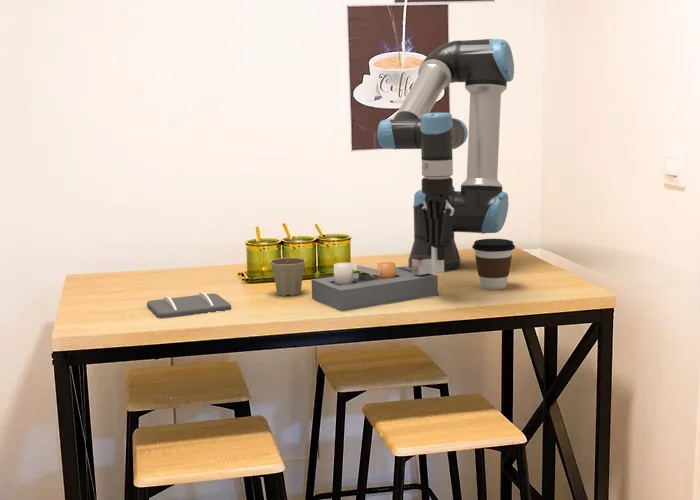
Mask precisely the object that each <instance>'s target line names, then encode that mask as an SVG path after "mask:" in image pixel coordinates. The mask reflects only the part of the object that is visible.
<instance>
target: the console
mask: <svg viewBox="0 0 700 500" xmlns="http://www.w3.org/2000/svg"><path fill="white" fill-rule="evenodd" d="M395 273H396V277H395V278H388V279H381V278H378V277H377V275H374V274H370V273H365V272H361V271H360V272H355V273H353V284H348V285H341V286H338V285H336V284H334V275H333V276H327V277H326V276H325V277H319V278H313V279H311V299H312V300H313V299H314V300H313V301H316V302H318V301H319V302H318V303H321V304H323V303H324V304H323V305H326V306H328V305H329V306H328V307H330V306H331V308H334V309H335V308H336V310H338V311H340V312H343V311H349V310H355V309H362V308H367V307H374V306H379V305H385V304H392V303H398V302H404V301H410V300H417V299H422V298H428V297H436V296H438V294H439V293H438V292H439V291H438V290H439V288H438V286H439V281H438V277H439V276H438V275H436V274H434V273H430V274H423V275H417V274H413V273H412V268H409V266H398V267H397V266H395ZM361 307H362V308H361Z"/></svg>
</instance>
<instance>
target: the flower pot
mask: <svg viewBox="0 0 700 500" xmlns="http://www.w3.org/2000/svg"><path fill="white" fill-rule="evenodd" d="M306 263H307V260H306V259H304V258H301V257H281V258H274V259H271V260H269V264H270V265H271V269H272V270H273V277H274V283H275V289H276V294H277V295H278V296H283V297H286V296H297V295H300V294H301V293H302V284H303V275H304V274H303V273H304V269H305V265H306Z"/></svg>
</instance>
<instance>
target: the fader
mask: <svg viewBox="0 0 700 500" xmlns="http://www.w3.org/2000/svg"><path fill="white" fill-rule="evenodd" d="M411 258H412V273H413V274H417V275H423V274H433V273H432V258H431V255H430V254H420V255H413V256H411Z"/></svg>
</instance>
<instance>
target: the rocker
mask: <svg viewBox="0 0 700 500" xmlns="http://www.w3.org/2000/svg"><path fill="white" fill-rule="evenodd" d="M348 263H352V269H353V271H356V272H360V273H361V272H365V273H370V274H374V275H378V276H380V272H381V270H378V269H377V268H374V267H371V266H368V265H362V264H358V263H353V262H348Z"/></svg>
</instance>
